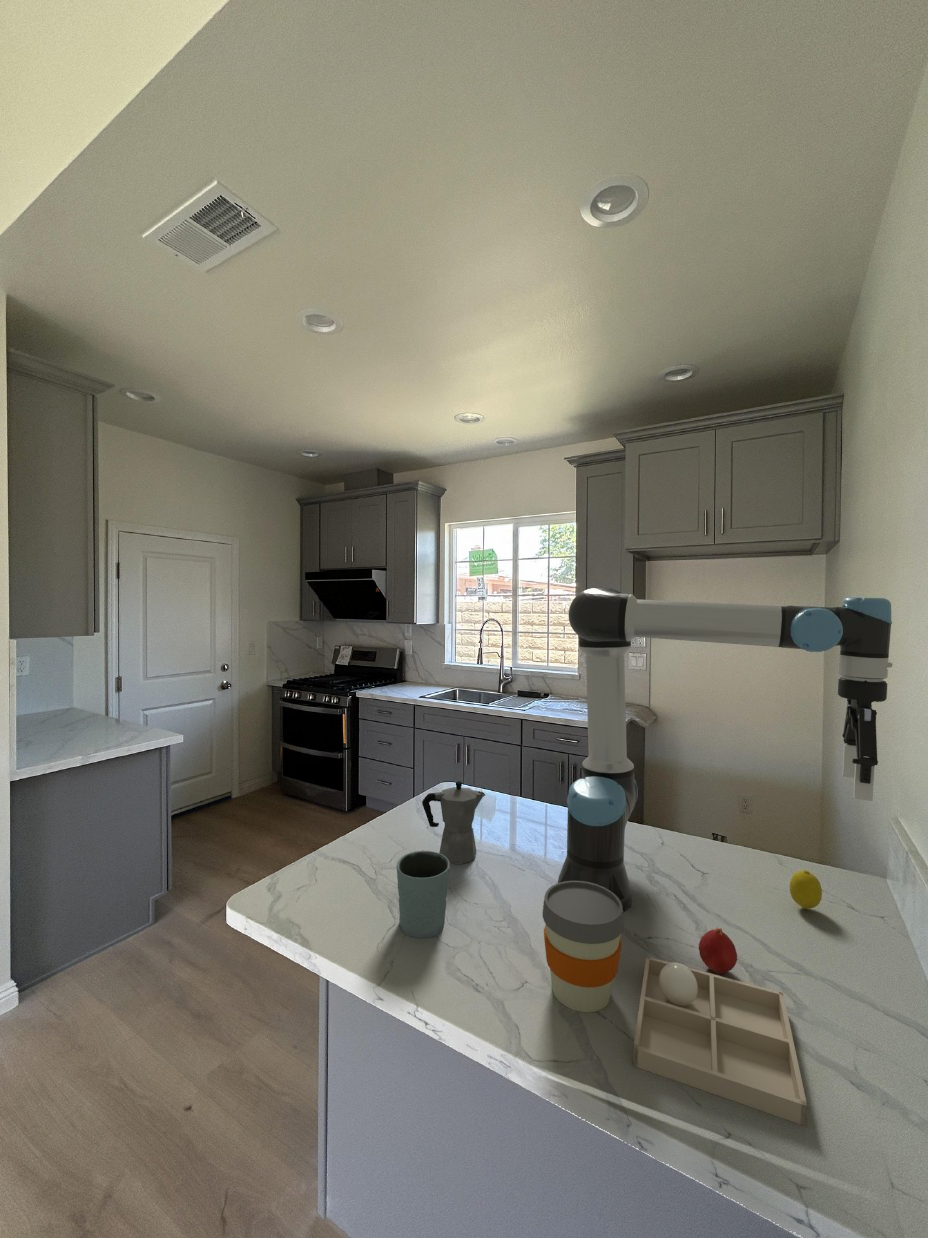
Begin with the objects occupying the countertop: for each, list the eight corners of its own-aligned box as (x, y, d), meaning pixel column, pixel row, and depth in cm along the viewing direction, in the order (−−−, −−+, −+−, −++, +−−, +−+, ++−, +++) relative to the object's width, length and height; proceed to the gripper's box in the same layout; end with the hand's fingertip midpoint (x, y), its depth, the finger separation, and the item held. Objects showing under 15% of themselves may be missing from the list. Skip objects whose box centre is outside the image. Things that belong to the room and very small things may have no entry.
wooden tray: (632, 1069, 72) (633, 1047, 71) (645, 973, 90) (646, 956, 90) (806, 1130, 64) (807, 1106, 64) (782, 1011, 82) (783, 993, 82)
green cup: (425, 903, 109) (426, 845, 109) (460, 925, 102) (461, 864, 101) (385, 924, 102) (385, 862, 102) (419, 949, 95) (419, 883, 94)
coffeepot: (479, 843, 135) (480, 773, 135) (489, 862, 126) (490, 787, 125) (418, 849, 132) (419, 777, 131) (424, 868, 123) (425, 791, 122)
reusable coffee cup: (619, 972, 90) (621, 885, 89) (624, 1032, 78) (627, 931, 77) (544, 960, 93) (545, 875, 92) (537, 1015, 80) (539, 918, 80)
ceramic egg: (657, 1008, 82) (658, 972, 81) (659, 984, 87) (660, 950, 86) (697, 1020, 79) (698, 984, 79) (697, 994, 84) (698, 960, 84)
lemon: (826, 919, 106) (827, 879, 105) (795, 915, 107) (796, 876, 106) (813, 903, 111) (815, 865, 111) (784, 899, 112) (786, 862, 112)
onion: (691, 962, 93) (693, 917, 92) (723, 960, 93) (724, 916, 93) (709, 986, 87) (711, 939, 86) (743, 985, 87) (745, 937, 87)
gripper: (903, 690, 89) (896, 814, 91) (873, 671, 111) (868, 772, 112) (849, 685, 93) (842, 805, 94) (830, 668, 115) (825, 766, 116)
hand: (856, 787), depth 103 cm, fingers open, 13 cm apart
